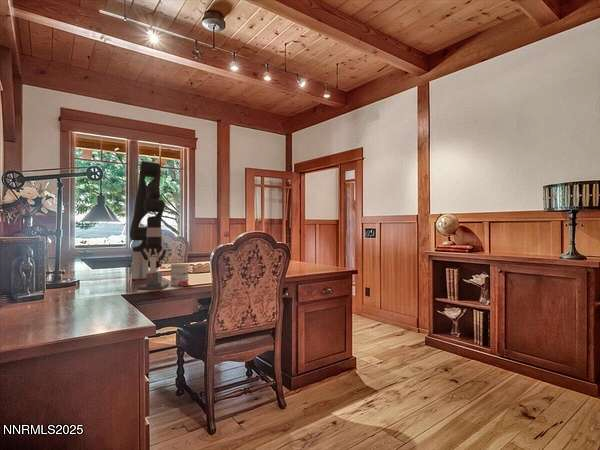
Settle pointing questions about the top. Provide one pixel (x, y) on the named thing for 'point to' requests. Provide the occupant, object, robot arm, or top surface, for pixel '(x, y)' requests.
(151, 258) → the column
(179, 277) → the ink box
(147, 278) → the jack base
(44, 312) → the top surface
